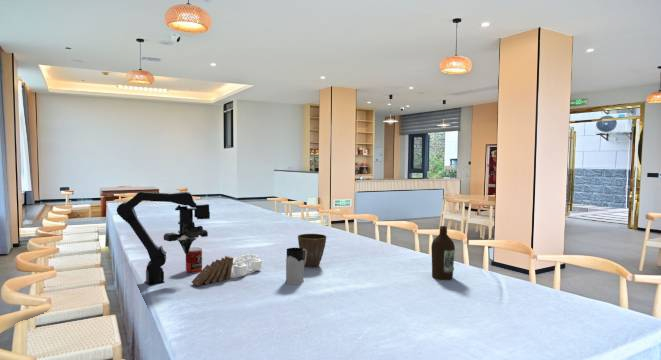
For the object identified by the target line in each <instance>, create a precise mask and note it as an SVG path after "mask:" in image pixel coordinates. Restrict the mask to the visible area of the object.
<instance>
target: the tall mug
mask: <svg viewBox="0 0 661 360" xmlns="http://www.w3.org/2000/svg"><path fill="white" fill-rule="evenodd" d="M303 250H305V260H303ZM306 257H307V251H306V249H302V248H299V247H289V248H287V249H286V257H285V262H286V263H285V272H286V273H285V280H284V281H285V284H289V285H300V284H303V283H304V282H305V280H304V267H305V266H304V265H305V262H306Z"/></svg>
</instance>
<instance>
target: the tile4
mask: <svg viewBox="0 0 661 360" xmlns="http://www.w3.org/2000/svg"><path fill="white" fill-rule="evenodd" d="M220 260H221V261H224V262H225V264H224V266H223V268H222V270H221V272H220V274H219V276H218V278H217V280H216V281H218V282H222V281H223V280H224V279H223V277H224V274H225V272H226V269H227V267H228V264H229V262H230V260H227V259H225V257H221V259H220Z"/></svg>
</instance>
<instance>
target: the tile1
mask: <svg viewBox="0 0 661 360" xmlns="http://www.w3.org/2000/svg"><path fill="white" fill-rule="evenodd" d="M210 265H211V264H206V266H204V268H202V271H200V272H198V273H197V275H196V276H195V278H193V280H192V281H191V283H192V284H193V286H195V287H198V288H199V287H200V286H201V285H202V284H204V283H203V282H204V280H205V279H206V278H207V277H208V276H209V275H210V274H211V273H212V271H213V270H214V268H213V267H212V266H210Z"/></svg>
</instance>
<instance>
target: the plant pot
mask: <svg viewBox="0 0 661 360" xmlns="http://www.w3.org/2000/svg"><path fill="white" fill-rule="evenodd" d="M326 241H327V235H325V234H322V233H321V234H319V233H303V234H298V235H297V242H298V248H302V249H306V251H307V257H306V262H305V265H304V267H305V268H310V269H311V268H313V269H314V267H315V268H318V267H319V266H320V264H321V262H322V261H321V260H322V258H323V256H324V251H325V247H326V243H327V242H326ZM303 260H305V250H303Z"/></svg>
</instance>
